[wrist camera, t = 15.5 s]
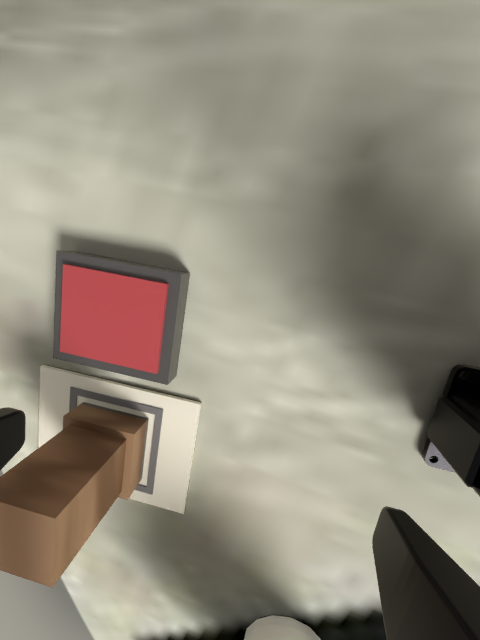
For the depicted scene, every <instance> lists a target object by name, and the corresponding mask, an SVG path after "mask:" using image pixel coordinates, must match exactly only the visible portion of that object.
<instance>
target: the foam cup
mask: <svg viewBox="0 0 480 640" xmlns="http://www.w3.org/2000/svg"><path fill="white" fill-rule="evenodd" d="M244 640H321V639H320V638H319V637H318V636H317V635H316V634H315V633H314V631H313V630H312V629H311V628H310V627H309V626H307V625H305V624H303V623H301V622H299V621H297V620H295V619H293V618H290V617H283V616H275V615H272V616H268V617H264V618H260V619H257V620H256V621H254V622H253V623H252V624H251V625H250V626H249V627H248V628H247V629H246V633H245V638H244Z"/></svg>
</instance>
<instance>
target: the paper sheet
mask: <svg viewBox="0 0 480 640" xmlns="http://www.w3.org/2000/svg"><path fill="white" fill-rule="evenodd" d="M83 402H86V403H90V404H94V405H98V406H102V407H106V408H110V409H114V410H118V411H122V412H126V413H130V414H134V415H138V416H142V417H146V418H149V421H148V430H147V438H146V447H145V456H144V465H143V474H142V479H141V481H140V482H139V484H138V485H137V487H136V488H135V490H134V491H133V493H132V494H131V496H130V497H129V499H132V500H136V501H139V502H143V503H146V504H150V505H153V506H157V507H160V508H164V509H167V510H171V511H174V512H178V513H181V514H183V513H184V511H185V505H186V499H187V492H188V486H189V479H190V473H191V466H192V460H193V454H194V447H195V441H196V434H197V428H198V421H199V415H200V409H201V402H197V401H193V400H189V399H185V398H181V397H176V396H172V395H168V394H164V393H160V392H156V391H151V390H147V389H143V388H139V387H135V386H130V385H126V384H122V383H118V382H114V381H110V380H105V379H101V378H97V377H93V376H89V375H84V374H80V373H76V372H72V371H68V370H64V369H59V368H55V367H51V366H47V365H42V366H40V400H39V444H38V448H39V447H41V446H42V445H43V444H45V443H46V442H47V441H49V440H50V439H51V438H53V437H54V436H55V435H57V434H58V433H59V432H61V431H62V430H63V416H64V415H65V414H67V413H68V412H70V411H71V410H73V409H74V408H76V407H77V406H78V405H80V404H81V403H83Z"/></svg>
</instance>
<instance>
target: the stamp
mask: <svg viewBox="0 0 480 640" xmlns="http://www.w3.org/2000/svg"><path fill="white" fill-rule="evenodd" d="M148 421H149V418H146V417H142V416H138V415H134V414H130V413H126V412H122V411H118V410H114V409H110V408H106V407H102V406H98V405H94V404H90V403H86V402H83V403H81V404H80V405H78V406H77V407H76V408H74V409H73V410H71V411H70V412H68V413H67V414H65V415H64V416H63V430H62V431H61V432H59V433H58V434H57V435H55V436H54V437H53V438H51V439H50V440H49V441H47V442H46V443H45V444H43V445H42V446H41V447H39V448H38V449H37V450H35V451H34V452H33V453H31V454H30V455H29V456H27V457H26V458H25V459H23V460H22V461H21V462H19V463H18V464H17V465H16V466H14V467H13V468H12V469H10V470H9V471H8V472H6V473H5V474H4V475H2V476H1V477H0V570H2V571H4V572H8V573H10V574H13V575H16V576H19V577H22V578H25V579H28V580H32V581H34V582H37V583H40V584H43V585H46V586H49V587H53V586H54V585H55V584H56V582H57V581H58V579H59V578H60V577H61V575H62V574H63V572H64V571H65V570H66V568H67V567H68V565H69V564H70V563H71V561H72V560H73V558H74V557H75V556H76V554H77V553H78V551H79V550H80V549H81V547H82V546H83V545H84V543H85V542H86V540H87V539H88V538H89V536H90V535H91V533H92V532H93V531H94V529H95V528H96V526H97V525H98V524H99V522H100V521H101V519H102V518H103V517H104V515H105V514H106V512H107V511H108V510H109V508H110V507H111V506H112V504H113V503H114V501H115V500H116V499H117V497H120V498H123V499H127V500H128V499H129V497H130V496H131V494H132V493H133V491H134V490H135V488H136V487H137V485H138V484H139V482H140V481H141V479H142V474H143V465H144V456H145V447H146V438H147V430H148Z"/></svg>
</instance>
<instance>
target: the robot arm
mask: <svg viewBox="0 0 480 640" xmlns="http://www.w3.org/2000/svg"><path fill="white" fill-rule="evenodd" d="M463 371H465V375H464V376H462V377H459V375H460V373H461V372H463ZM427 436H428V438H427V441H426V444H425V447H424V450H423V453H422V457H423V459H424V461H425V462H426V464H427V465H429V466H431V467H435V468H439V469H443V470H447V471H452V472H456V473H457V474H458V476H459V477H460V478H461V479H462V481H463V482H464V483H465V484H466V485H467V486H468V487H471V488H473V489H474V490H475V491H476V493H477V494H478V495H479V496H480V368H476V367H471V366H467V365H457V366H455V367H454V368H453V369H452V371H451V373H450V376H449V379H448V382H447V384H446V387H445V390H444V393H443V396H442V397H441V398H440V399H439V400H438V403H437V406H436V409H435V412H434V415H433V418H432V420H431V423H430V426H429V429H428V432H427ZM24 441H25V414H24V412H23V411H21V410H17V409H13V408H2V409H0V470H1V469H2V468H3V467H4V466H5V465H6V464H7V463H8V462H9V461H10V459H11V458H12V457H13V456H14V455H15V454H16V453H17V452H18V451H19V450H20V449H21V447H22V446H23V444H24ZM431 456H435V457H434V458H433V459H429V458H430V457H431ZM372 544H373V553H374V559H375V566H376V573H377V579H378V586H379V592H380V599H381V606H382V612H383V619H384V625H385V630H386V636H387V640H480V586H479V585H478V584H477V583H476V582H475V581H474V580H473V579H472V578H471V577H470V576H469V575H468V574H467V573H466V572H465V571H464V570H463V569H462V568H461V567H460V566H459V565H458V564H457V563H456V562H455V561H454V560H453V559H452V558H451V557H450V556H449V555H448V554H447V553H446V552H445V551H444V550H443V549H442V548H441V547H440V546H439V545H438V544H437V543H436V542H435V541H434V540H433V539H432V538H431V537H430V536H429V535H428V534H427V533H426V532H425V531H424V530H423V529H422V528H421V527H420V526H419V525H418V524H417V523H416V522H415V521H414V520H413V519H412V518H411V517H410V516H409V515H408V514H407V513H405V512H404V511H402V510H399V509H395V508H391V507H384V508H383V509H382V511H381V513H380V516H379V519H378V522H377V525H376V528H375V531H374V534H373V541H372Z"/></svg>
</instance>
